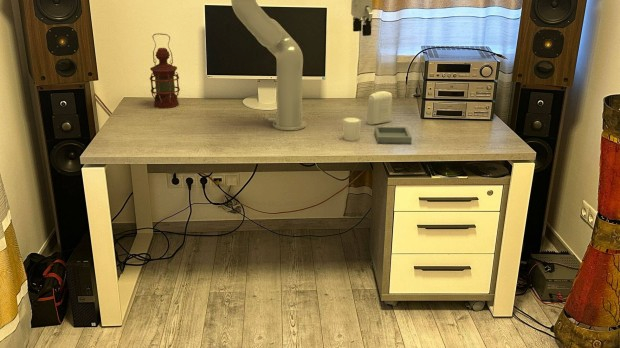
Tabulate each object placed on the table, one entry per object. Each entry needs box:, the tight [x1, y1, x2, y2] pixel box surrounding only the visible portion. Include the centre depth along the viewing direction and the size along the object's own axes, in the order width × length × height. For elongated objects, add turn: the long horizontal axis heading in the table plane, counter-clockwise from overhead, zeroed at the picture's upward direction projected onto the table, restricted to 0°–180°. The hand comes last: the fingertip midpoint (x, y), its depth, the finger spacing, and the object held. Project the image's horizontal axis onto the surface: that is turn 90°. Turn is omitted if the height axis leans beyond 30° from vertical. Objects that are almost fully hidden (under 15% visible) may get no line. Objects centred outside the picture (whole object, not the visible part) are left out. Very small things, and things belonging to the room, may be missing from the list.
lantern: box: [149, 33, 181, 109], centre depth 264 cm, size 12×12×30 cm
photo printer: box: [366, 90, 393, 126], centre depth 248 cm, size 10×4×12 cm, turn 123°
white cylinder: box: [342, 116, 362, 142], centre depth 231 cm, size 7×7×7 cm
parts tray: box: [374, 126, 413, 145], centre depth 232 cm, size 12×12×2 cm
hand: (361, 33), depth 234 cm, fingers open, 9 cm apart
